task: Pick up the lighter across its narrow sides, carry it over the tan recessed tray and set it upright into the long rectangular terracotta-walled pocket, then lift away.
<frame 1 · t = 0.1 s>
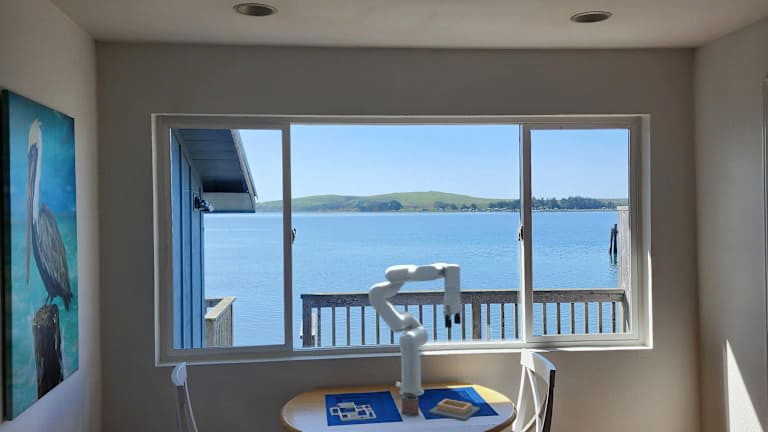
hand: (452, 325, 282), 37 cm above the table, tool pointing down, fingers open, 9 cm apart
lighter: (410, 414, 267), on the table
floor plan model: (345, 414, 270), on the table
tan recessed tray: (454, 411, 269), on the table
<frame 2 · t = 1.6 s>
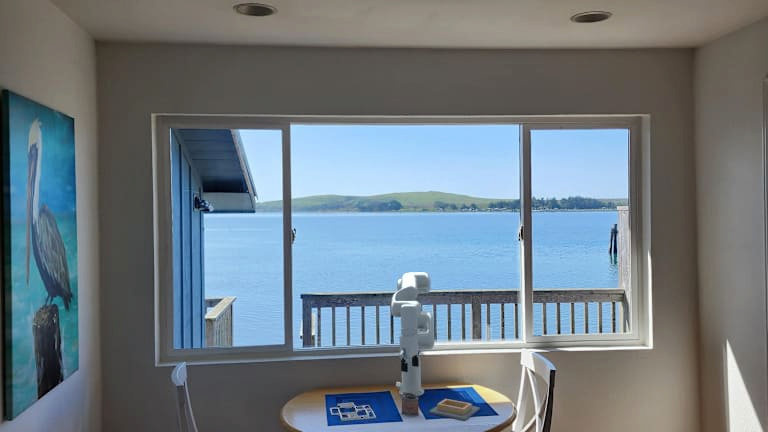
hand: (410, 368, 267), 21 cm above the table, tool pointing down, fingers open, 9 cm apart
nothing on the table moved.
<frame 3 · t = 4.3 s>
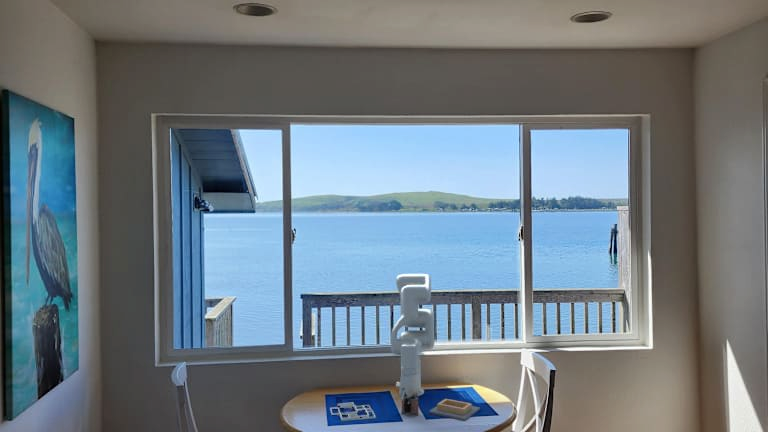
hand: (410, 410, 267), 2 cm above the table, tool pointing down, fingers closed on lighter, 3 cm apart
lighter: (410, 414, 267), on the table, touching gripper
everything else where it was.
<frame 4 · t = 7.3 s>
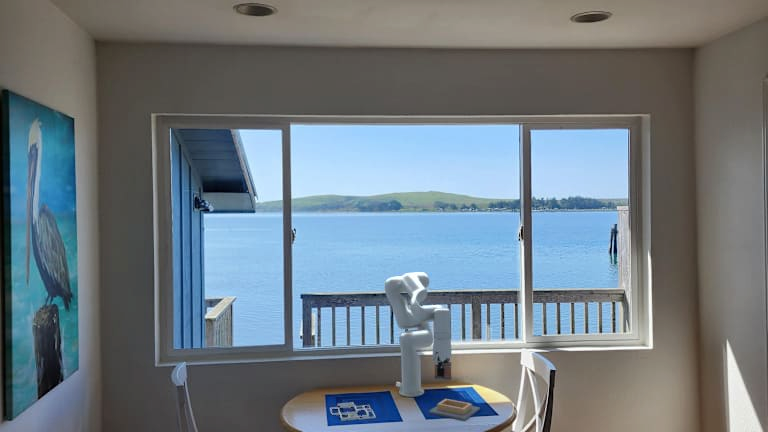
hand: (443, 374, 268), 17 cm above the table, tool pointing down, fingers closed on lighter, 3 cm apart
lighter: (442, 379, 268), point 15 cm above the table, touching gripper
everything else where it was.
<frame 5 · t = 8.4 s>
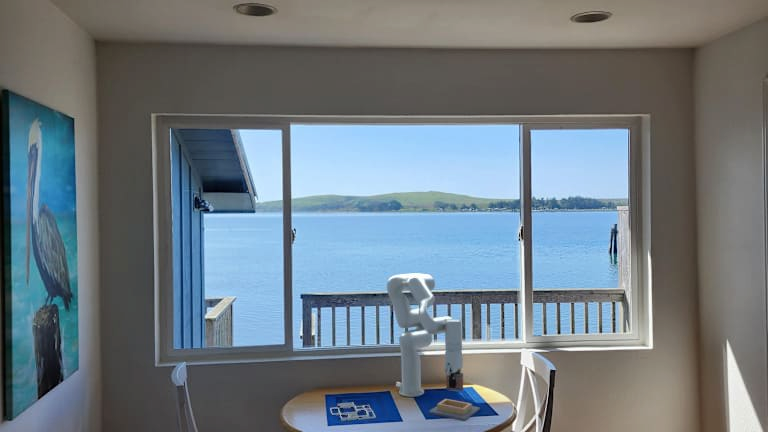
hand: (454, 385, 269), 12 cm above the table, tool pointing down, fingers closed on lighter, 3 cm apart
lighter: (454, 390, 269), point 10 cm above the table, touching gripper
everything else where it was.
when the fingers open (4 cm above the table, at t = 9.9 s): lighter drops 1 cm, resting on tan recessed tray.
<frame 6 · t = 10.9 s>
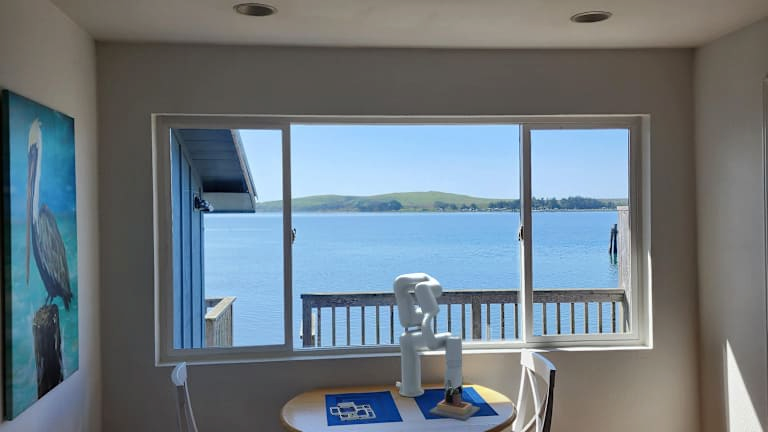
hand: (454, 399, 269), 5 cm above the table, tool pointing down, fingers open, 9 cm apart
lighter: (453, 410, 269), point 1 cm above the table, touching tan recessed tray
everything else where it was.
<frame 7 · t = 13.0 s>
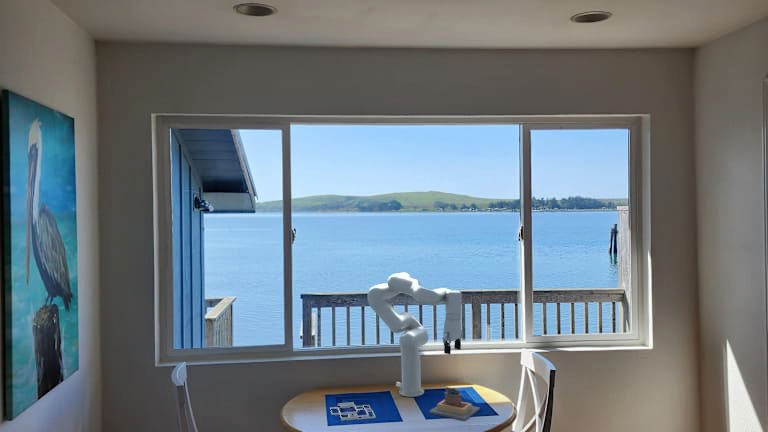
hand: (452, 351, 282), 24 cm above the table, tool pointing down, fingers open, 9 cm apart
nothing on the table moved.
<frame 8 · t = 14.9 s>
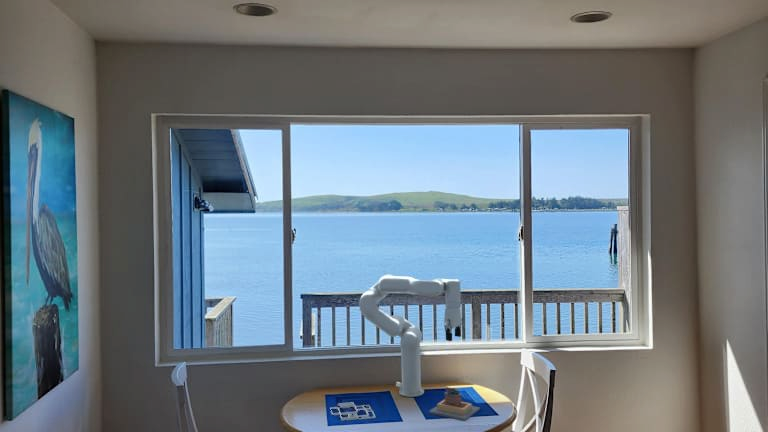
hand: (453, 338, 291), 28 cm above the table, tool pointing down, fingers open, 9 cm apart
nothing on the table moved.
at the end: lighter 0.9 cm off-centre on the tan recessed tray, point 0.8 cm above the tan recessed tray's base; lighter tilted 0°; the gripper is holding nothing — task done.
